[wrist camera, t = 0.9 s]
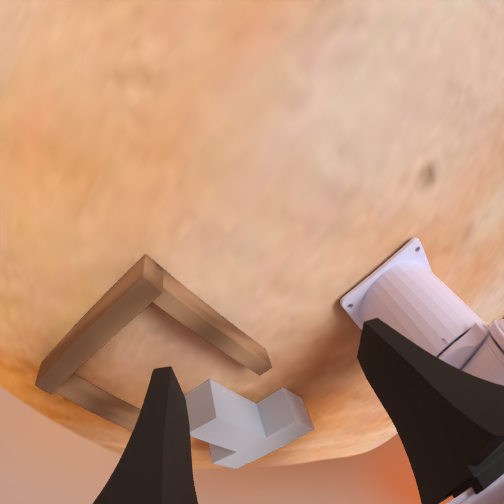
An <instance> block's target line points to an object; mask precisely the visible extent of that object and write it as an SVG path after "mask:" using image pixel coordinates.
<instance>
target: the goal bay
mask: <svg viewBox="0 0 504 504" xmlns="http://www.w3.org/2000/svg"><path fill="white" fill-rule="evenodd" d="M152 302H153V303H154V304H156V305H157V306H158V307H160V308H161V309H162V310H164V311H165V312H167V313H168V314H169V315H171V316H172V317H173V318H175V319H176V320H178V321H179V322H180V323H182V324H183V325H185V326H186V327H187V328H189V329H190V330H192V331H193V332H194V333H196V334H197V335H199V336H200V337H202V338H203V339H205V340H206V341H207V342H209V343H210V344H212V345H213V346H215V347H216V348H218V349H219V350H221V351H222V352H224V353H225V354H227V355H228V356H230V357H231V358H233V359H235V360H236V361H238V362H239V363H241V364H242V365H244V366H245V367H247V368H249V369H250V370H252V371H253V372H255V373H257V374H258V375H261V374H263V373H264V372H266V371H267V370H269V369H270V368H272V365H271V363H270V360H269V357H268V354H267V351H266V349H265V348H264V347H262V346H261V345H260V344H258V343H257V342H255V341H254V340H253V339H251V338H250V337H249V336H247V335H246V334H245V333H243V332H242V331H241V330H239V329H238V328H237V327H235V326H234V325H233V324H232V323H230V322H229V321H228V320H226V319H225V318H224V317H222V316H221V315H220V314H219V313H217V312H216V311H215V310H214V309H212V308H211V307H210V306H208V305H207V304H206V303H205V302H203V301H202V300H201V299H200V298H198V297H197V296H196V295H195V294H193V293H192V292H191V291H190V290H188V289H187V288H186V287H185V286H183V285H182V284H181V283H180V282H179V281H177V280H176V279H175V278H174V277H173V276H171V275H170V274H169V273H168V272H167V271H165V270H164V269H163V268H162V267H161V266H159V265H158V264H157V263H156V262H155V261H153V260H152V259H151V258H150V257H149V256H148V255H146V254H145V255H144V256H143V257H142V258H141V259H140V260H139V261H138V262H137V263H136V264H135V265H134V266H133V267H132V268H131V269H130V270H129V271H128V272H127V273H126V274H125V275H124V276H123V277H122V278H121V279H120V280H119V281H118V282H117V283H116V284H115V285H114V286H113V287H112V288H111V289H110V290H109V291H108V292H107V293H106V294H105V295H104V296H103V297H102V298H101V299H100V300H99V301H98V302H97V303H96V304H95V305H94V306H93V307H92V308H91V309H90V310H89V311H88V312H87V314H86V315H85V316H84V317H83V318H82V319H81V320H80V321H79V322H78V323H77V324H76V325H75V326H74V327H73V328H72V329H71V331H70V332H69V333H68V334H67V335H66V336H65V337H64V338H63V339H62V340H61V341H60V343H59V344H58V345H57V346H56V347H55V348H54V349H53V350H52V351H51V353H50V354H49V355H48V356H47V357H46V358H45V359H44V361H43V362H42V363H41V366H40V370H39V373H38V376H37V380H36V383H35V386H37V387H39V388H40V389H42V390H44V391H45V392H47V393H49V394H51V393H52V392H56V393H58V394H59V395H61V396H63V397H65V398H66V399H68V400H70V401H72V402H74V403H75V404H77V405H79V406H81V407H83V408H85V409H87V410H89V411H91V412H93V413H95V414H97V415H99V416H101V417H103V418H105V419H107V420H109V421H111V422H113V423H115V424H118V425H120V426H122V427H124V428H127V429H129V430H131V431H133V430H134V427H135V425H136V422H137V420H138V417H139V414H140V411H141V410H140V409H138V408H136V407H134V406H132V405H130V404H128V403H126V402H124V401H122V400H120V399H118V398H116V397H114V396H112V395H111V394H109V393H107V392H105V391H103V390H101V389H100V388H98V387H96V386H94V385H92V384H91V383H89V382H87V381H86V380H84V379H82V378H80V377H79V376H77V375H75V374H74V372H75V371H76V370H77V369H78V368H79V367H80V366H82V365H83V364H84V363H85V362H86V361H87V360H88V359H89V358H90V357H91V356H92V355H94V354H95V353H96V352H97V351H98V350H99V349H100V348H101V347H102V346H103V345H105V344H106V343H107V342H108V341H109V340H110V339H111V338H112V337H113V336H115V335H116V334H117V333H118V332H119V331H120V330H121V329H122V328H123V327H125V326H126V325H127V324H128V323H129V322H130V321H131V320H132V319H134V318H135V317H136V316H137V315H138V314H139V313H140V312H141V311H143V310H144V309H145V308H146V307H147V306H148V305H149V304H150V303H152Z"/></svg>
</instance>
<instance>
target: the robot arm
mask: <svg viewBox="0 0 504 504" xmlns="http://www.w3.org/2000/svg"><path fill="white" fill-rule="evenodd" d="M340 304H341V306H342V307H343V308H344V310H345V311H346V312H347V313H348V314H349V316H350V317H351V318H352V319H353V321H354V322H355V323H356V324H357V325H358V327H359V328H360V329H361V330H362V334H361V340H360V345H359V350H358V355H357V358H358V360H359V362H360V365H361V367H362V370H363V372H364V374H365V376H366V378H367V380H368V382H369V383H370V385H371V387H372V388H373V390H374V392H375V393H376V395H377V397H378V398H379V400H380V402H381V403H382V405H383V406H384V408H385V410H386V411H387V413H388V415H389V416H390V418H391V420H392V422H393V423H394V425H395V427H396V429H397V432H398V434H399V436H400V438H401V441H402V443H403V446H404V448H405V451H406V453H407V456H408V458H409V461H410V464H411V467H412V470H413V473H414V476H415V479H416V483H417V486H418V490H419V494H420V498H421V503H422V504H439V503H440V502H442V501H444V500H445V499H447V498H448V497H450V496H452V495H453V497H454V499H453V500H451V501H450V502H448V503H447V504H504V319H501V320H493V321H492V323H491V324H490V326H489V325H486V324H485V323H484V322H483V321H482V320H481V319H480V318H479V317H478V316H477V315H476V314H475V313H474V312H473V311H472V310H471V309H470V308H469V307H468V306H467V305H466V304H465V303H464V302H463V301H462V300H461V299H460V298H459V297H458V296H457V295H456V294H455V293H453V292H452V291H451V290H450V289H449V288H448V287H447V286H446V285H445V284H444V283H443V282H442V281H441V280H439V279H438V278H437V277H436V276H435V275H434V274H433V273H432V271H431V268H430V266H429V263H428V260H427V258H426V255H425V253H424V250H423V247H422V245H421V243H420V241H419V240H418V239H417V238H413V239H411V240H410V241H409V242H408V243H407V244H406V245H404V246H403V247H402V248H401V249H400V250H399V251H398V252H396V253H395V254H394V255H393V256H392V257H391V258H390V259H388V260H387V261H386V262H385V263H384V264H383V265H381V266H380V267H379V268H378V269H377V270H375V271H374V272H373V273H372V274H371V275H369V276H368V277H367V278H366V279H365V280H363V281H362V282H361V283H360V284H358V285H357V286H356V287H355V288H354V289H352V290H351V291H350V292H349V293H347V294H346V295H345V296H344V297H342V298H341V300H340ZM349 304H350V305H349ZM348 305H349V306H348ZM192 473H193V472H192V458H191V441H190V424H189V417H188V411H187V405H186V399H185V396H184V394H183V392H182V390H181V388H180V385H179V383H178V381H177V379H176V376H175V374H174V372H173V369H172V367H171V366H170V367H163V368H157V369H154V370H153V372H152V376H151V380H150V383H149V387H148V390H147V393H146V397H145V400H144V403H143V406H142V408H141V411H140V414H139V417H138V420H137V422H136V425H135V427H134V430H133V432H132V434H131V437H130V439H129V442H128V444H127V446H126V448H125V451H124V453H123V455H122V457H121V459H120V461H119V463H118V464H117V466H116V468H115V470H114V472H113V473H112V475H111V477H110V479H109V481H108V482H107V484H106V485H105V487H104V488H103V490H102V491H101V493H100V494H99V496H98V497H97V499H96V500H95V501H94V503H93V504H198V502H197V497H196V492H195V487H194V481H193V474H192Z"/></svg>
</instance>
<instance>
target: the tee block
mask: <svg viewBox="0 0 504 504" xmlns="http://www.w3.org/2000/svg"><path fill="white" fill-rule="evenodd" d="M184 396H185V399H186V405H187V411H188V417H189V424H190V436H191V437H194V438H197V439H199V440H202V441H205V442H208V443H209V447H210V453H211V458H212V463H213V464H217V465H221V466H225V467H229V468H233V469H237V468H239V467H241V466H244V465H246V464H248V463H250V462H252V461H255V460H257V459H259V458H261V457H263V456H265V455H267V454H269V453H271V452H273V451H275V450H277V449H279V448H281V447H283V446H285V445H287V444H289V443H291V442H292V441H294V440H296V439H298V438H300V437H302V436H303V435H305V434H307V433H309V432H311V431H312V430H314V427H313V424H312V422H311V420H310V417H309V415H308V412H307V410H306V408H305V405H304V403H303V400H302V398H301V397H299V396H297V395H295V394H294V393H292V392H290V391H289V390H287V389H285V388H284V387H282V388H281V389H279V390H278V391H276V392H274V393H273V394H271V395H270V396H268V397H266V398H265V399H263V400H261V401H260V402H258V403H254V402H252V401H250V400H248V399H246V398H244V397H242V396H240V395H238V394H236V393H235V392H233V391H231V390H229V389H227V388H225V387H223V386H221V385H220V384H218V383H216V382H214V381H212V380H211V379H209V380H207V381H206V382H204V383H203V384H201V385H200V386H198V387H196V388H195V389H193V390H192V391H190V392H189V393H187V394H185V395H184Z"/></svg>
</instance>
